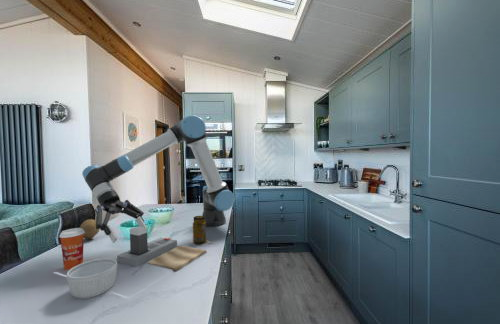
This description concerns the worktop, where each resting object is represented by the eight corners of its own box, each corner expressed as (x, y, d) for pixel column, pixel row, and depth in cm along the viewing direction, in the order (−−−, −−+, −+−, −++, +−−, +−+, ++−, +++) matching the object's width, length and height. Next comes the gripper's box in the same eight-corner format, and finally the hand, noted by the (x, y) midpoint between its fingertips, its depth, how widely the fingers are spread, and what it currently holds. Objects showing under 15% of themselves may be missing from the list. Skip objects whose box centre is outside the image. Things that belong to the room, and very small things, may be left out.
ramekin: (61, 306, 67) (60, 281, 67) (74, 283, 79) (73, 262, 79) (115, 294, 72) (114, 271, 72) (119, 274, 84) (119, 255, 84)
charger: (139, 255, 99) (138, 226, 99) (147, 256, 97) (146, 227, 97) (130, 258, 96) (129, 228, 95) (139, 261, 94) (138, 230, 93)
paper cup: (58, 274, 85) (56, 235, 85) (63, 265, 92) (61, 229, 92) (84, 269, 89) (83, 231, 88) (87, 261, 96) (86, 226, 95)
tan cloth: (180, 247, 108) (180, 245, 108) (206, 252, 102) (206, 250, 102) (147, 264, 92) (147, 261, 92) (176, 271, 86) (176, 268, 86)
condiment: (202, 238, 120) (202, 214, 119) (211, 242, 113) (210, 217, 113) (189, 241, 115) (188, 216, 115) (197, 246, 109) (196, 220, 108)
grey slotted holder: (160, 243, 113) (160, 236, 113) (177, 246, 109) (177, 239, 109) (117, 263, 93) (117, 254, 93) (135, 267, 89) (134, 258, 89)
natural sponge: (104, 237, 124) (103, 218, 123) (86, 243, 116) (85, 222, 116) (94, 235, 128) (93, 216, 128) (75, 240, 120) (74, 220, 120)
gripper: (128, 196, 115) (151, 231, 109) (70, 207, 93) (96, 251, 87) (135, 186, 113) (160, 221, 107) (78, 194, 91) (105, 239, 84)
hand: (131, 235), depth 97 cm, fingers open, 13 cm apart
